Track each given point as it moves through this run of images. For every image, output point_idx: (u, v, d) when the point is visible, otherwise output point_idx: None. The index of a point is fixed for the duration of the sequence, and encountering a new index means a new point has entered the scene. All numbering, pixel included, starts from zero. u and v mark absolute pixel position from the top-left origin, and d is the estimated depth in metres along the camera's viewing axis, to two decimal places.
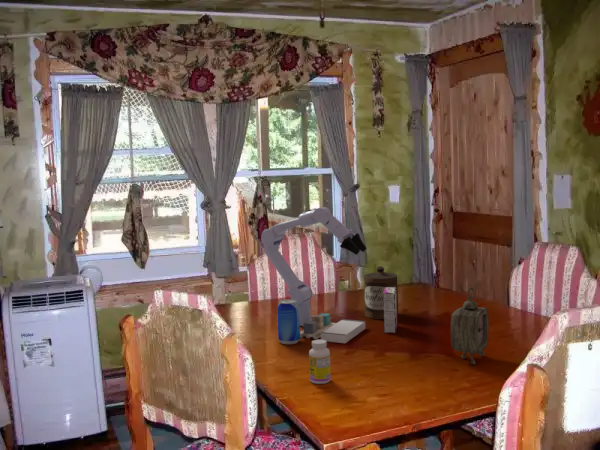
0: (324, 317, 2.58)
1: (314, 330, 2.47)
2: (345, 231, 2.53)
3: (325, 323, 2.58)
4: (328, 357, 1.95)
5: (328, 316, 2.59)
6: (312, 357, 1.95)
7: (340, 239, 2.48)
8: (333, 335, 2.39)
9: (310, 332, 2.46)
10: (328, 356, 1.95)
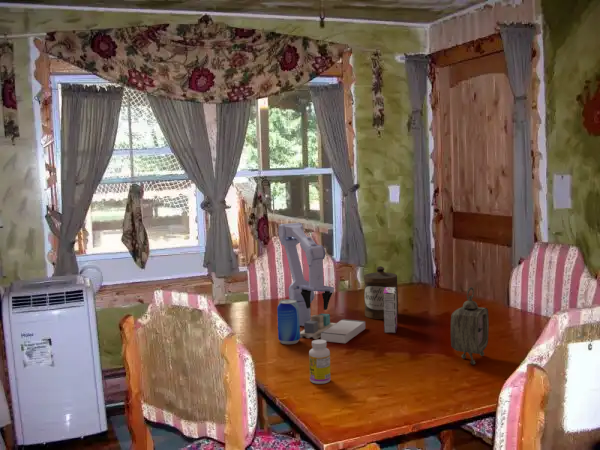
0: (323, 317, 2.57)
1: (315, 330, 2.48)
2: (310, 285, 2.51)
3: (324, 323, 2.57)
4: (328, 357, 1.95)
5: (327, 316, 2.59)
6: (312, 357, 1.95)
7: None
8: (333, 335, 2.39)
9: (311, 332, 2.47)
10: (328, 356, 1.95)
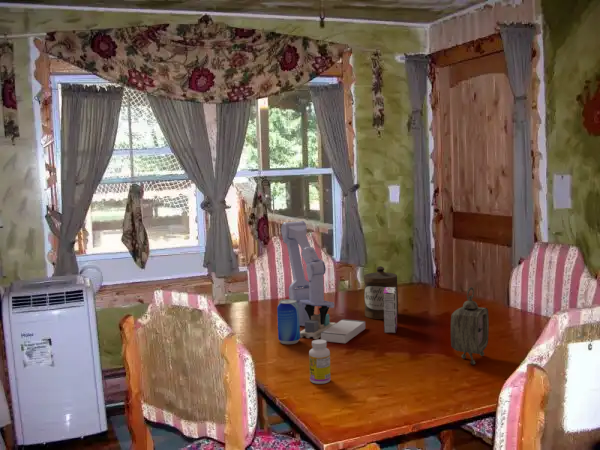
0: None
1: (316, 329, 2.48)
2: (310, 300, 2.52)
3: (324, 323, 2.57)
4: (328, 357, 1.95)
5: (327, 316, 2.58)
6: (312, 357, 1.95)
7: None
8: (333, 335, 2.39)
9: (311, 331, 2.47)
10: (328, 356, 1.95)
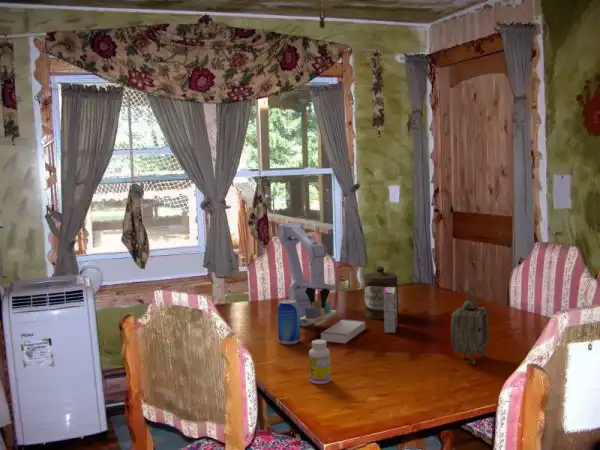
0: None
1: (316, 315, 2.47)
2: (311, 283, 2.51)
3: (325, 310, 2.56)
4: (328, 357, 1.95)
5: (328, 303, 2.57)
6: (312, 357, 1.95)
7: None
8: (333, 335, 2.39)
9: (312, 317, 2.46)
10: (328, 356, 1.95)
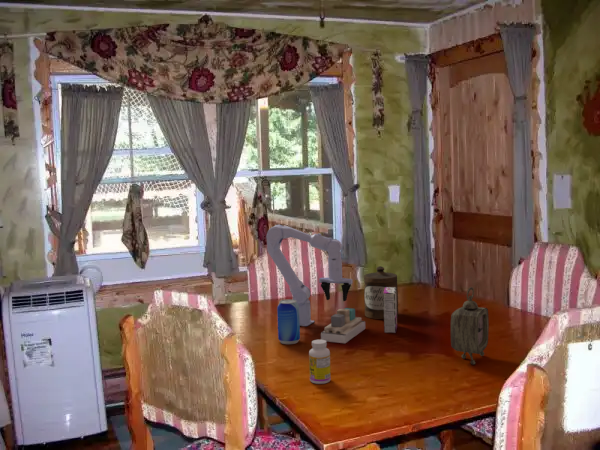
0: (349, 312, 2.51)
1: (342, 323, 2.43)
2: (329, 277, 2.62)
3: (350, 318, 2.51)
4: (328, 357, 1.95)
5: (353, 311, 2.52)
6: (312, 357, 1.95)
7: None
8: (333, 335, 2.39)
9: (338, 325, 2.42)
10: (328, 356, 1.95)
